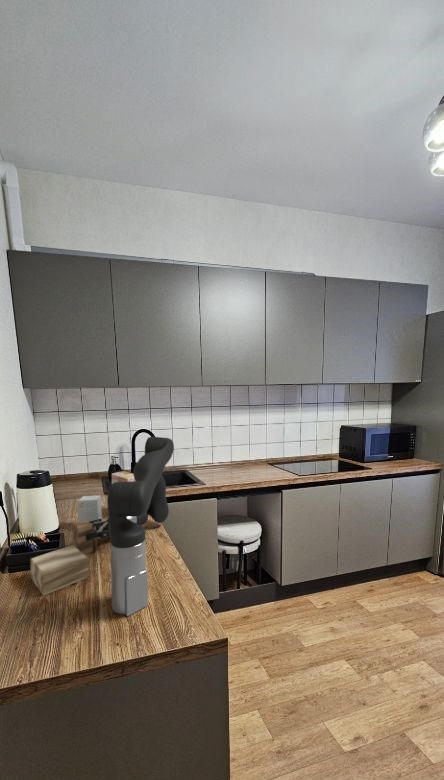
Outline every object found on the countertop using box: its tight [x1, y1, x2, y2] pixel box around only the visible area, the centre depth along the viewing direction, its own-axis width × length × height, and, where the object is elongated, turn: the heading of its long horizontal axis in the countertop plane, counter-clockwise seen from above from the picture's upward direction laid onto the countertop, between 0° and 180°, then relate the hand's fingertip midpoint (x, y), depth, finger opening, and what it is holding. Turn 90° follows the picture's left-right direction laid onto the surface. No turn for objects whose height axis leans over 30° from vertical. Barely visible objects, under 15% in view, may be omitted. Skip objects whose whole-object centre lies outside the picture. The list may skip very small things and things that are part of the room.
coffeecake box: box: [111, 470, 135, 485], centre depth 156 cm, size 15×7×20 cm, turn 46°
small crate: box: [72, 521, 94, 555], centre depth 120 cm, size 5×5×10 cm
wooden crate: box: [30, 544, 91, 596], centre depth 103 cm, size 14×14×6 cm
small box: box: [77, 495, 103, 528], centre depth 142 cm, size 8×6×13 cm
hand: (81, 534), depth 120 cm, fingers open, 8 cm apart
